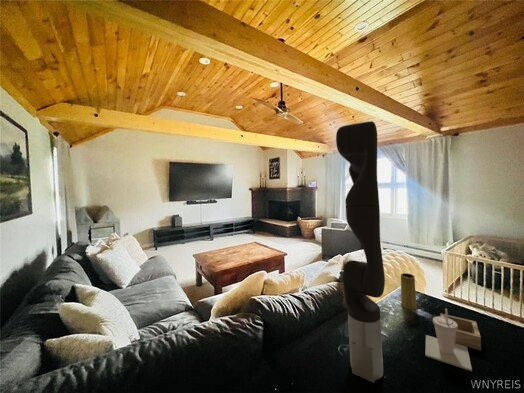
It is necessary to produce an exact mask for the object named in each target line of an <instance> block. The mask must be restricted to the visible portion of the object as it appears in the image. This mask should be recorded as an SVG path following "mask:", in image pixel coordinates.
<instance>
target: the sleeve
mask: <svg viewBox="0 0 524 393" xmlns="http://www.w3.org/2000/svg"><path fill="white" fill-rule="evenodd" d="M439 314H440V315H439V316H441V317H445V313H442V312H441V313H439ZM448 318H449V319H451V320H453V321H455V322H456V323H457V325H458V330H456V338H455V343H456V344H459V345H463V346H467V348H470V349H474V350H477V351H482V338H481V337H482V336H481V334H480V330H479V327H478V324H477V321H475V320H470V319H466V318H463V317H458V316H454V315H449V314H448Z"/></svg>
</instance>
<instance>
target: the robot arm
mask: <svg viewBox="0 0 524 393" xmlns="http://www.w3.org/2000/svg"><path fill="white" fill-rule="evenodd" d="M335 135H336V136H335V144H336V149H337V151H338V153H339V155H340V156H341V157H342V158H343V159H344V160H346V162H348V163H349V164H350V165H349V166H348V174H349V176H350V179H351V181H352V185H351V187H350V189H349V190H348V192H347V194H346V197H345V201H344V202H345V218H346V222H347V225H348V226H349V229H351V231H352V233H353V234H354V236H355V237H356V239H357V240H358V242H359V243H360V249H361V250H363V252H364V255H365V260H366V262H364V261H359V260H352V259H351V260H350V259H349V260H347V262H346V263H345V264H344V267H343V271H342V283H343V291H344V300H345V306H346V308H347V323H348V325H347V326H348V342H349V361H350V367H351V372H352V374H353V375H355V376H357V377H359V376H360V378H363V379H364V380H366V381H369V382H371V383H375V382H376V381H377V380H380V379H381V378H382V377H383V375H384V360H383V340H382V320H381V317H382V316H381V309H380V306H379V305H378V303H377V302H375V301H374V300H373V299H371V298H381V297H382V295H383V294H384V291H385V285H386V283H385V282H386V280H385V279H386V274H385V268H384V259H383V252H382V244H381V220H380V219H381V216H380V214H381V213H380V212H381V210H380V198H379V185H378V130H377V125H376V123H375V122H374V121H373V120H367V121H363V122H362V121H361V122H357V123H351V124H350V123H349V124H346V125H342V126H340V127H339V128H338V129H337V130H336V134H335Z"/></svg>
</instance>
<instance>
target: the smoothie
mask: <svg viewBox="0 0 524 393" xmlns="http://www.w3.org/2000/svg"><path fill="white" fill-rule="evenodd" d="M444 311H445V313H444V314H445V317H441V316H440V315H439V316H434V317H433V318H432V323H433V325H434V329H435V335H436V338H437V340H438V345H439V349H440V351H442V352H443V353H445V354H449V355H452V354H453V353H454V346H455V338H456V330H458V325H457V323H456V322H455V321H453V320H451V319H449V318H448V315H449V313H448V308H444Z"/></svg>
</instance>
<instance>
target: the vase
mask: <svg viewBox="0 0 524 393" xmlns="http://www.w3.org/2000/svg"><path fill="white" fill-rule="evenodd" d="M415 281H416V280H415V275H414V274H412V273H406V272H404V273H401V274H400V298H401V303H400V306H401V307H403V308H404V309H406V310H410V311H411V310H412V311H413V310H416V309H418V304H417V294H416V282H415Z"/></svg>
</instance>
